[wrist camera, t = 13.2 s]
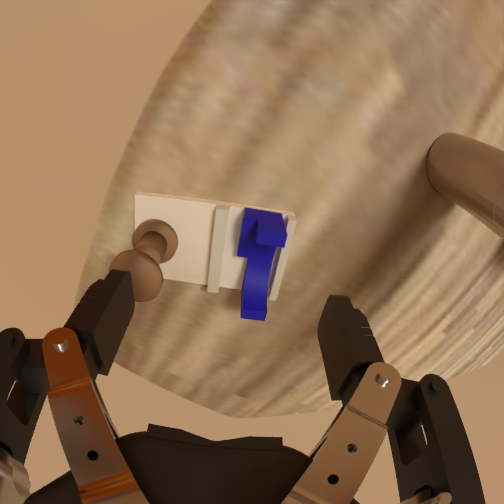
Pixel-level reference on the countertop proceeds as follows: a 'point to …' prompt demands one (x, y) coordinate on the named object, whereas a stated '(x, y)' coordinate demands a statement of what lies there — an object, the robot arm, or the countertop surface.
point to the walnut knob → (148, 257)
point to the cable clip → (258, 258)
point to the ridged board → (209, 240)
